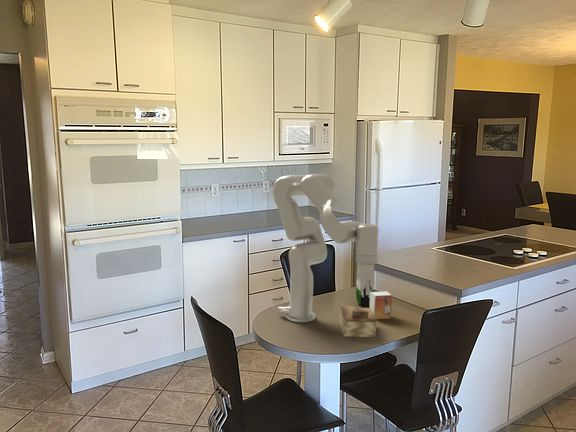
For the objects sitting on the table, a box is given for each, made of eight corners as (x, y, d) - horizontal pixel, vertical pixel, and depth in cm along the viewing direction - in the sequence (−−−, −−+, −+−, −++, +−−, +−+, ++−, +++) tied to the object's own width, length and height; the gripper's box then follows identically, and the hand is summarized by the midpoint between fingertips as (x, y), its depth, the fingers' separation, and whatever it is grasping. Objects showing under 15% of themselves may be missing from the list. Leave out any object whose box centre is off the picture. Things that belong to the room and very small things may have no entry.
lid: (344, 320, 183) (345, 312, 182) (340, 308, 197) (341, 300, 196) (376, 321, 183) (376, 313, 183) (369, 308, 197) (370, 301, 196)
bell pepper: (377, 307, 218) (378, 285, 217) (361, 309, 215) (362, 287, 214) (367, 301, 226) (369, 280, 224) (352, 303, 223) (353, 282, 221)
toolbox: (344, 336, 184) (344, 321, 183) (339, 322, 198) (340, 308, 197) (375, 337, 184) (376, 322, 183) (369, 323, 198) (369, 309, 197)
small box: (373, 320, 202) (375, 295, 201) (368, 315, 208) (369, 291, 206) (391, 318, 204) (392, 294, 203) (385, 314, 210) (386, 290, 208)
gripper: (353, 253, 182) (351, 300, 185) (359, 262, 168) (357, 313, 170) (373, 254, 183) (371, 301, 185) (380, 263, 168) (378, 314, 170)
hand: (364, 307), depth 178 cm, fingers closed
